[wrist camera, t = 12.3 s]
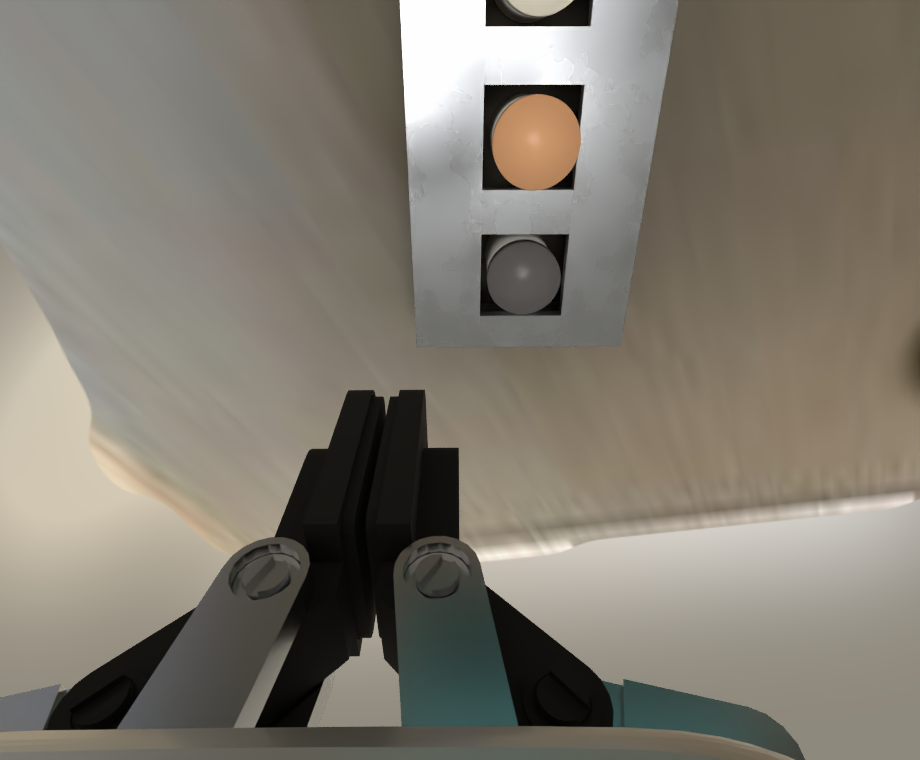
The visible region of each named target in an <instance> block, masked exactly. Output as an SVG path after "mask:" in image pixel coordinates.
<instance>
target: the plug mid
mask: <svg viewBox="0 0 920 760" xmlns="http://www.w3.org/2000/svg"><path fill="white" fill-rule="evenodd" d="M488 136H489V144H490V147H491V150H492V152H493V157H494V160H495V162H496V165H497V167H498V169H499V171H500V172H501V174H502V175H503V176H504V178H505V179H506V180H508V181H509V182H510V183H511V184H513V185H515V186H516V187H519V188H521V189H525V190H533V191H535V190H543V189H546V188H549V187H552V186H554V185H555V184H557V183H558V182H560V181H561V180H562V179H564V178H565V177H566V176H567V174H568V173H569V172H570V171H571V169H572V168H573V166H574V164H575V163H576V160H577V158H578V155H579V151H580V146H581V132H580V127H579V124H578V121H577V119H576V117H575V115H574V113H573V112H572V110H571V109H570V108H569V107H568V106H567V105H566V104H565V103H564V102H562V101H561V100H559V99H557V98H555V97H552V96H548V95H543V94H530V93H522V94H517V95H514V96H512V97H510V98H508V99H506V100H505V101H504V102H503V103H502V104H501V105H500V106H499V107H498V108H497V109H496V111H495V112H494V114H493V116H492V118H491V121H490V125H489V133H488Z"/></svg>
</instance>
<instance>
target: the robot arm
mask: <svg viewBox="0 0 920 760" xmlns="http://www.w3.org/2000/svg"><path fill="white" fill-rule="evenodd" d="M376 615H377V622H378V630H379V636H380V638H382V645H383V653H384V659H385V660H386V661H387V662H388V663H389V664H390V666H391V667H392V668H393V669H394V670H395V671H396V672H397V673H398V674H399V684H400V702H401V721H402V727H319V724H320V721H321V718H322V715H323V712H324V710H325V707H326V704H327V701H328V698H329V695H330V692H331V690H332V686H333V680H334V671H335V670H336V669H338V668H339V667H340V666H341V665H342V664H344V663H345V662H346V661H347V660H348V659H349V656H360V650H361V643H362V638H371V637H372V634H373V630H374V623H375V616H376ZM0 760H805V758H804V756H803V754H802V752H801V750H800V748H799V745H798V744H797V742H796V741H795V740H794V739H793V738H792V736H791V735H790V734H789V733H788V732H787V731H786V729H785V728H784V727H783V726H782V725H780V724H779V723H777V722H776V721H775V720H773V719H772V718H771V717H769V716H768V715H767V714H765V713H762V712H759V711H757V710H754V709H752V708H749V707H746V706H741V705H737V704H732V703H728V702H723V701H719V700H714V699H710V698H705V697H701V696H697V695H692V694H688V693H683V692H678V691H674V690H670V689H665V688H661V687H657V686H652V685H647V684H643V683H638V682H634V681H630V680H625V679H624V680H623V683H622V685H618V684H613V683H609V682H605V681H602V680H601V679H600V678H599V677H598V676H597V675H596V674H595V673H594V672H593V671H592V670H591V669H590V668H589V667H588V666H587V665H585V664H584V663H583V662H582V661H580V660H579V659H578V658H576V657H575V656H574V655H573V654H572V653H570V652H569V651H568V650H566V649H565V648H564V647H563V646H561V645H560V644H559V643H558V642H556V641H555V640H554V639H553V638H551V637H550V636H549V635H548V634H546V633H545V632H544V631H543V630H541V629H540V628H539V627H537V626H536V625H535V624H534V623H532V622H531V621H530V620H529V619H528V618H526V617H525V616H523V614H521V613H520V612H519V611H517V610H516V609H515V608H514V607H512V606H511V605H510V604H509V603H507V602H506V601H505V600H504V599H502V598H501V597H500V596H499V595H497V594H496V593H495V592H494V591H492V590H491V589H490V588H489V587H487V586H486V585H485V582H484V578H483V573H482V569H481V565H480V562H479V560H478V557H477V555H476V553H475V552H474V551H473V550H472V549H471V548H470V547H469V546H468V545H467V544H465V543H463V542H462V541H460V540H459V448H428V442H427V420H426V398H425V390H400V392H399V396H398V397H390V400H389V405H388V410H387V415H386V413H385V402H384V397H376V396H375V392H374V390H349V391H348V392H347V395H346V398H345V401H344V404H343V407H342V409H341V412H340V415H339V418H338V421H337V424H336V427H335V430H334V433H333V436H332V439H331V442H330V445H329V448H328V449H311V450H309V452H308V454H307V456H306V458H305V461H304V463H303V466H302V468H301V471H300V474H299V476H298V479H297V481H296V484H295V486H294V489H293V491H292V494H291V496H290V499H289V502H288V504H287V507H286V509H285V512H284V514H283V517H282V519H281V522H280V525H279V527H278V530H277V532H276V535H275V537H271V538H267V539H262V540H258V541H256V542H253V543H251V544H249V545H247V546H245V547H243V548H242V549H241V550H239V551H238V552H237V553H235V554H234V555H233V556H232V557H231V558H230V559H229V561H227V563H226V564H225V565H224V567H223V568H222V569H221V571H220V572H219V574H218V576H217V577H216V578H215V580H214V582H213V583H212V585H211V586H210V588H209V589H208V591H207V592H206V594H205V596H204V597H203V598H202V600H201V601H200V603H199V605H198V606H197V607H196V608H194V609H193V610H191V611H190V612H188V613H186V614H185V615H183V616H182V617H180V618H178V619H177V620H175V621H173V622H172V623H170V624H169V625H167V626H165V627H164V628H162V629H161V630H159V631H157V632H156V633H154V634H152V635H151V636H149V637H148V638H146V639H144V640H143V641H141V642H140V643H138V644H136V645H135V646H133V647H132V648H130V649H128V650H127V651H125V652H124V653H122V654H120V655H119V656H117V657H116V658H114V659H112V660H111V661H109V662H107V663H106V664H104V665H103V666H101V667H99V668H98V669H96V670H95V671H93V672H91V673H90V674H89V675H87V676H86V677H85V678H83V679H82V680H81V681H79V682H78V683H77V684H75V685H74V686H73V688H72V689H69V690H65V689H64V688H63V686H62V685H61V684H59V685H55V686H50V687H45V688H41V689H36V690H32V691H27V692H23V693H18V694H14V695H9V696H5V697H0Z"/></svg>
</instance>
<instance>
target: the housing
mask: <svg viewBox="0 0 920 760" xmlns="http://www.w3.org/2000/svg"><path fill="white" fill-rule="evenodd" d="M678 2H679V0H590V5H589V15H588V25H587V26H486V27H485V15H486V0H400V13H401V34H402V55H403V75H404V96H405V117H406V137H407V158H408V179H409V200H410V220H411V241H412V262H413V282H414V303H415V324H416V344H417V347H564V346H620V344H621V338H622V332H623V326H624V321H625V315H626V309H627V303H628V297H629V291H630V285H631V279H632V273H633V267H634V262H635V256H636V250H637V244H638V238H639V232H640V226H641V220H642V214H643V208H644V203H645V197H646V191H647V185H648V179H649V173H650V167H651V161H652V155H653V149H654V144H655V138H656V132H657V126H658V120H659V114H660V108H661V102H662V96H663V90H664V84H665V79H666V73H667V67H668V61H669V55H670V49H671V43H672V37H673V31H674V25H675V20H676V14H677V8H678ZM484 85H581V95H580V105H579V115H578V124H579V127H580V132H581V146H580V151H579V155H578V158H577V160H576V163H575V164H574V166H573V175H572V185H571V187H549V188H546V189H543V190H535V191H533V190H525V189H521V188H519V187H507V188H482V175H483V122H484ZM481 234H567V235H566V245H565V255H564V265H563V275H562V285H561V295H560V303H549V304H548V305H546V306H545V307H544V308H542V309H540V310H538V311H536V312H533V313H529V314H515V313H511V312H508V311H506V310H504V309H502V308H501V307H499V306H498V305H497V304H496V303H480V282H481Z"/></svg>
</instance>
